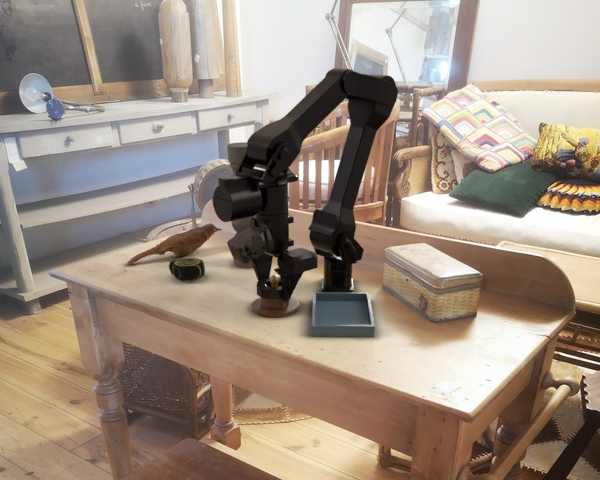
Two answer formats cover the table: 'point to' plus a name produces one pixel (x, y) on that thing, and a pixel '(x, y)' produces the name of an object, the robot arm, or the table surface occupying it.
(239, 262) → the candle holder
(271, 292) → the ring
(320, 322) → the tray
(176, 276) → the tape measure
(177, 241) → the bird sculpture
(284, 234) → the robot arm
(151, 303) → the table surface
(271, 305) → the wooden peg stand
